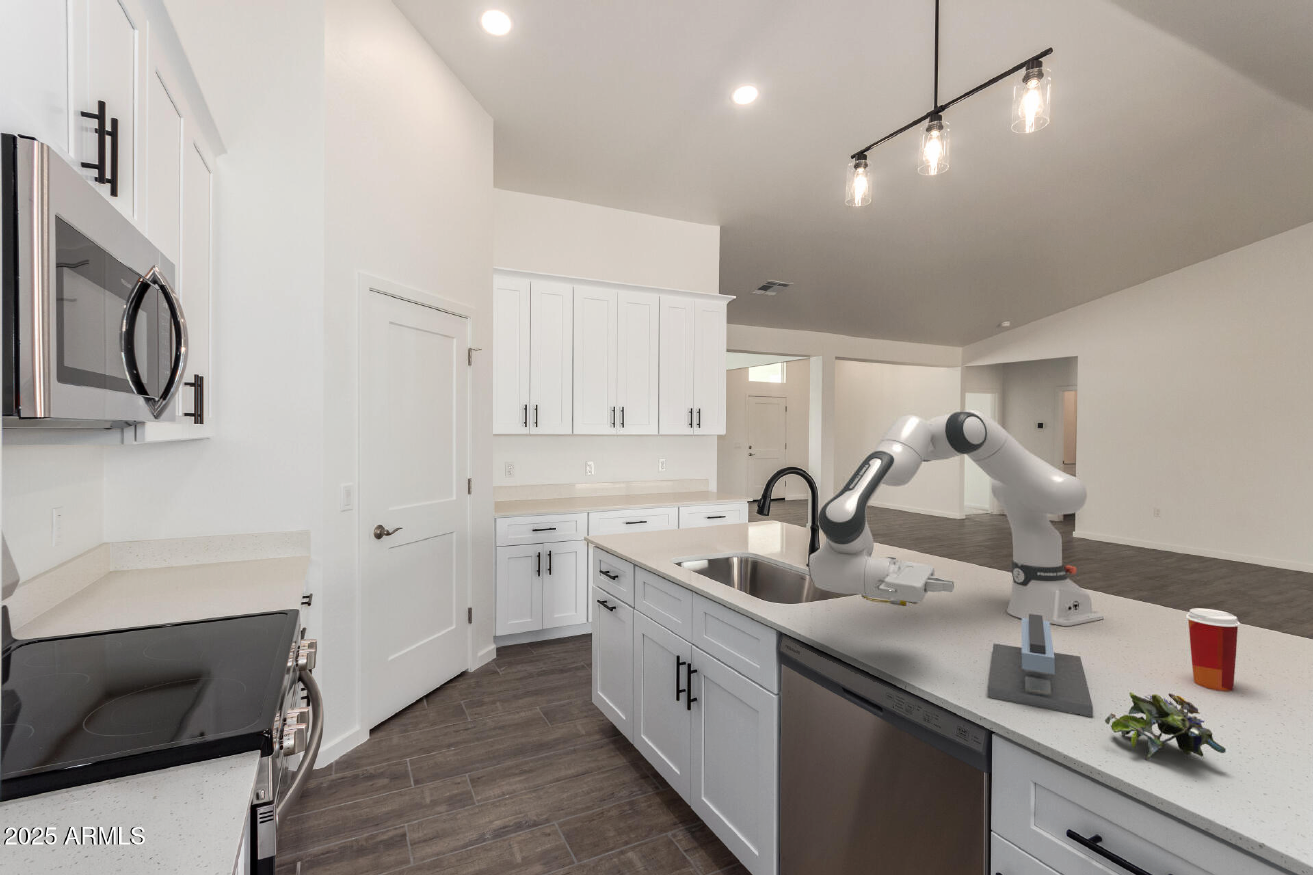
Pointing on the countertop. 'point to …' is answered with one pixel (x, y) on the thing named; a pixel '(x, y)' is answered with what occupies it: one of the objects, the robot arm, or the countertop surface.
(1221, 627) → the paper cup
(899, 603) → the extension cord
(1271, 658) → the countertop surface
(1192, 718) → the passion flower
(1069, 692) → the dark grey base plate
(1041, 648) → the bar
